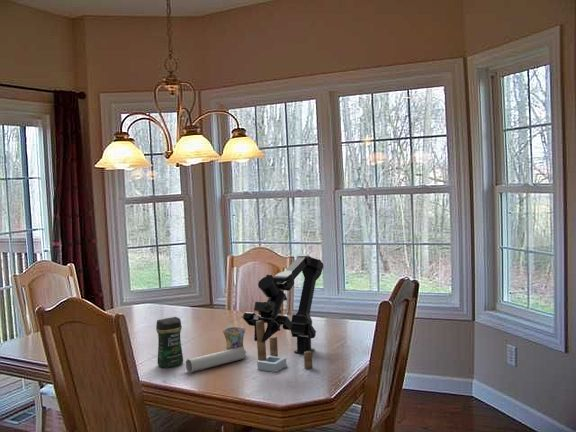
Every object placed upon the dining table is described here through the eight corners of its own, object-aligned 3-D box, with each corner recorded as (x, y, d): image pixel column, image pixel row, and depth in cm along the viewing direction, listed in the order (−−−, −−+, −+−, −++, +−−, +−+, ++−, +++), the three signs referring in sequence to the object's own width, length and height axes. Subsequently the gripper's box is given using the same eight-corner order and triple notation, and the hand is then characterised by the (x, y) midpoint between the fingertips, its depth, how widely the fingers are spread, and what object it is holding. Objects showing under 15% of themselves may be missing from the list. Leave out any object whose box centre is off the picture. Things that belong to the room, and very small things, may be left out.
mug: (250, 356, 225) (249, 330, 224) (230, 360, 220) (228, 334, 219) (237, 349, 235) (236, 324, 235) (217, 353, 230) (216, 328, 230)
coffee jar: (163, 369, 212) (160, 322, 211) (155, 365, 219) (152, 318, 218) (186, 364, 218) (184, 317, 217) (177, 359, 224) (175, 314, 223)
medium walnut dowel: (273, 358, 221) (272, 336, 220) (279, 359, 219) (278, 336, 219) (269, 360, 218) (268, 338, 218) (275, 361, 217) (274, 338, 216)
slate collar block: (268, 362, 215) (268, 355, 215) (286, 365, 211) (286, 357, 211) (257, 369, 208) (257, 361, 208) (275, 372, 204) (275, 364, 204)
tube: (239, 346, 226) (184, 359, 210) (246, 344, 221) (190, 358, 206) (242, 359, 224) (187, 373, 209) (249, 358, 220) (193, 372, 205)
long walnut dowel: (261, 357, 203) (258, 320, 202) (267, 358, 201) (265, 320, 200) (256, 360, 200) (254, 322, 199) (263, 361, 199) (261, 322, 198)
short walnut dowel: (306, 366, 210) (306, 350, 209) (313, 367, 208) (313, 351, 208) (303, 368, 207) (302, 352, 207) (310, 369, 206) (309, 353, 205)
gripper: (243, 290, 207) (227, 327, 199) (286, 294, 198) (271, 332, 189) (256, 306, 215) (241, 342, 206) (298, 310, 205) (284, 348, 196)
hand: (259, 341), depth 199 cm, fingers closed on long walnut dowel, 3 cm apart
